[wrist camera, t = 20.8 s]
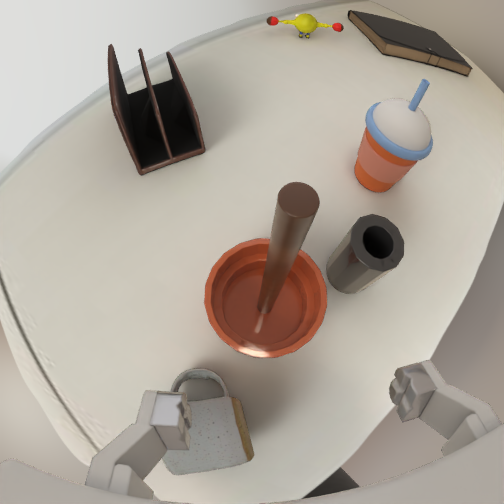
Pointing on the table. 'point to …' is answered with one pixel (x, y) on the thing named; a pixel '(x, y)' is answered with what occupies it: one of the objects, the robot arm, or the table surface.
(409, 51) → the black book
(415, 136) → the cup with straw
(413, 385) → the robot arm
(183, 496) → the table surface
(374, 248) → the tube
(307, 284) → the bowl
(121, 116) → the letter holder
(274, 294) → the stick
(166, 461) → the ceramic mug
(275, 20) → the toy figure
